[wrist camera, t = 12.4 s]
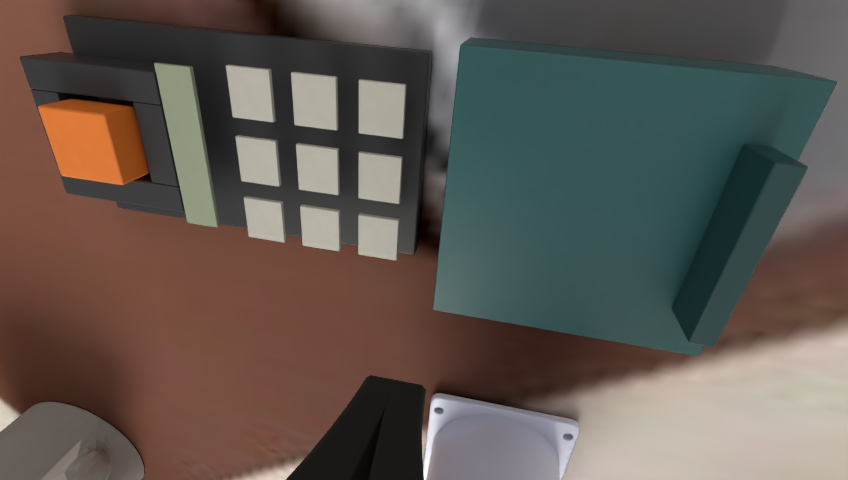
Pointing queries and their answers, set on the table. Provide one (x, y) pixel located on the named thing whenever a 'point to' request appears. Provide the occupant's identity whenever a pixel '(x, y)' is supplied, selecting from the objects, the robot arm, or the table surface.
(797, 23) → the table surface
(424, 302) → the table surface
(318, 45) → the calculator
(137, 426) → the table surface
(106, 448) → the coffee mug
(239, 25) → the table surface
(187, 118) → the keypad
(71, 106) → the on key
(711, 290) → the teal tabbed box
